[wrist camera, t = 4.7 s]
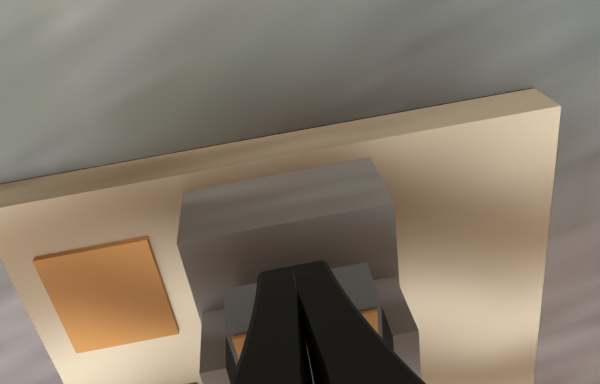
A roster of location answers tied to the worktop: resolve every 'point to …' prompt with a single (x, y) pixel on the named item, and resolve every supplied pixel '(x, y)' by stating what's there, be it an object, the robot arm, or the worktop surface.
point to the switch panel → (436, 232)
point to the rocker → (242, 299)
